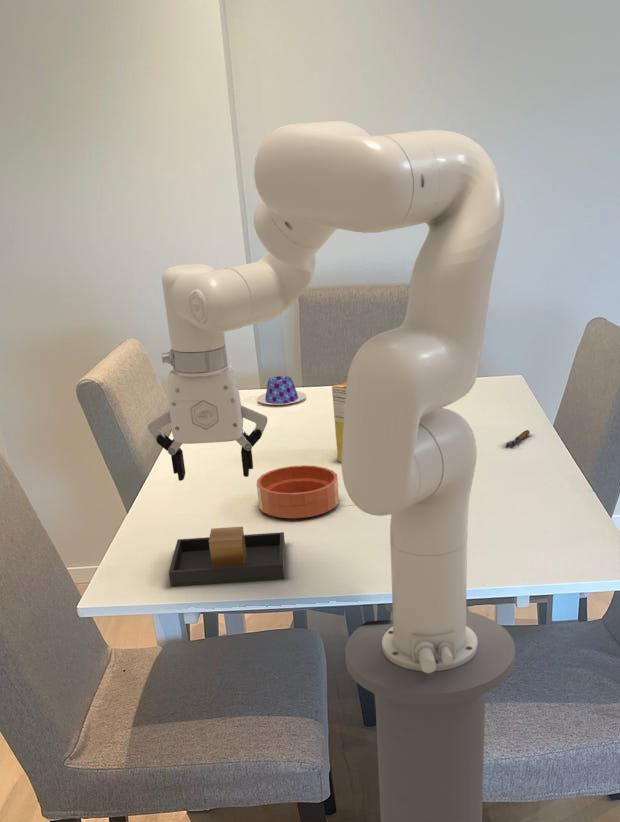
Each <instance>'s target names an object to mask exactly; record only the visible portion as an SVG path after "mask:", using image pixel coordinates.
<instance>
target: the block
mask: <svg viewBox="0 0 620 822" xmlns="http://www.w3.org/2000/svg"><path fill="white" fill-rule="evenodd" d="M244 535H245V531H244V526H229V527H227V526H226V527H214V528H213V527H212V528H210V532H209V537H210V538H209V547H210V555H211V562H212V568H217V567H232V566H245V564H246V547H245V539H244Z"/></svg>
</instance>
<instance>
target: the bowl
mask: <svg viewBox="0 0 620 822" xmlns="http://www.w3.org/2000/svg"><path fill="white" fill-rule="evenodd" d="M338 480H339V479H338V474H337V473H336V471H334V470H332V469H330V468H328V467H324V466H318V465H307V464H306V465H305V464H304V465H303V464H302V465H289V466H284V467H279V468H275V469H273V470H269V471H267V472H265V473H263V474H262V475H260V476H259V477H258V478H257V479H256V490H257V500H258V507H259V509H260V510H261V512H262V513H264V514H266V515H268V516H272V517H277V518H280V519H281V518H282V519H283V518H284V519H305V518H310V517H311V518H312V517H315V516H320V515H322V514H326V513H327V512H330V511H331V510H333V509H335V508H336V507H337V505H338V504H339V503H340V497H339V481H338Z"/></svg>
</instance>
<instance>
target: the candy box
mask: <svg viewBox="0 0 620 822" xmlns="http://www.w3.org/2000/svg"><path fill="white" fill-rule="evenodd" d="M346 388H347V380H344V381H342V382H340V383H337V384H335V385H332V386H331V391H332V403H333V404H332V405H333V418H334V429H335V441H336V442H335V443H336V452H337V454H336V455H337V462H339V463H341V458H342V441H343V428H344V414H345V400H346Z"/></svg>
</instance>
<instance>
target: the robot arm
mask: <svg viewBox="0 0 620 822" xmlns="http://www.w3.org/2000/svg"><path fill="white" fill-rule="evenodd" d="M253 167H254V168H253V169H254V170H253V172H254V173H253V177H254V184H255V188H256V191H257V193H258V195H259V197H260V199H261V200H260V201H259V202H258V204H257V205H256V207H255V209H254V213H253V227H254V230H255V233H256V235H257V238H258V239H259V242H260V243H261V244H262V246H263V247H264V248H265V250H266V252H265V253H264V254H263V256H262V257H260V259H258V260H257V261H255V262H250V263H243V264H239V265H234V266H229V267H225V268H222V269H216V270H215V268H214V267H213V266H211V265H208V264H202V263H188V264H179V265H178V264H177V265H174V266H171V267H169V268H167V269H166V270H164V272H163V274H162V277H161V285H162V291H163V297H164V306H165V314H166V321H167V328H168V335H169V341H170V342H169V343H170V348H171V349H170V350H169V351H167V352H163V353H161V361H162V364H169V365H170V366H171V367H172V369H171V370H170V371H169V372H168V381H167V383H168V387H167V388H168V407H169V408H168V409H169V410H168V411H166V412H165V413H163V414H162V415H160V416H158V417H157V418H155V419H153V420H152V421H150V422H149V423H148V425H147V430H148V431H149V433H150V434H151V436H152V437H153V439H155V441H156V443H157V444H158V446H160V447H161V448H162V449H164V450H165V451H166V452H167V453H168V455H170V457H171V464H172V471H173V474H175V475H177V479H178V481H179V482H180V481H181V482H182V481H183V480H185V476H186V467H185V459H184V452H183V449H182V448H181V446H182V445H192V444H193V445H194V444H210V443H211V444H213V443H226V442H229V443H230V442H234V441H235V442H237V444H239V445H240V446H241V450H240V454H241V466H242V473H243V477H245V478H249V475H250V470H254V461H253V451H252V449H253V447H254V446H255V445H256V444H257V443H258V442H259V440H261V438H262V437H263V433H264V431H265V429H266V426H267V425H268V419H269V418H268V417H267V416H266V415H265V414H262V413H260V412H258V411H255V410H253V409H251V408H248V407H246V406H243V405H242V402H241V396H240V391H239V386H238V382H237V378H236V374H235V371H234V368H233V366H232V365H230V364H228V356H227V347H226V337H225V333H227V332H231V331H235V330H239V329H242V328H244V327H248V326H251V325H256V324H261V323H264V322H265V323H266V322H268V321H271V320H274V319H275V318H278V317H279V316H281V315H282V314H283V313H285V312H286V311H287V310H288V309H289V308H291V306H292V305H293V304H294V303H296V301H297V300H298V299H299V298H300V297H301V295H303V294H304V293H305V291H306V290H307V289H308V287H309V286H310V284H311V282H312V281H313V277H314V273H315V269H316V261H317V258H316V257H317V256H316V253H318V252H319V250H320V249H321V248H322V247H323V246H324V245H325V243H326V242H327V241H328V240H329V239H330V238H331V237H332V235H334V233H335V232H336V231H337V229H338V230H344V231H347V232H354V233H362V234H363V233H364V234H369V233H370V234H373V233H374V234H376V233H384V232H390V231H393V230H399V229H403V228H408V227H413V226H418V225H422V224H426V225H427V227H428V232H427V235H426V238H425V240H424V242H423V243H422V246H421V247H420V249H419V252H418V254H417V257H416V259H415V262H414V264H413V266H412V267H413V268H412V270H411V276H410V281H409V282H410V283H409V293H408V294H409V295H408V302H407V309H406V313H405V317H404V320H403V322H402V324H401V325H400V326H398V327H396V328H393V329H389V330H385V331H383V332H380V333H378V334H376V335H373V336H372V337H370V338H369V339H368V340H366V341H365V342H364V343H363V344H362V345H361V346H360V347H359V349H358V350H357V351H356V353H355V355H354V357H353V359H352V361H351V363H350V367H349V370H348V374H347V380H346V381H347V388H346V400H345V414H344V428H343V441H342V458H341V462H340V464H341V475H342V481H343V485H344V487H345V488H344V489H345V490H346V493H347V495H348V497H349V498H350V500H351V502H352V503H353V504H354V505H355V506H356V507H357V508H358V509H359V510H360V511H362V512H363V513H364V514H365V513H366V514H367V515H371V516H375V517H383V516H389V515H390V523H389V537H390V538H389V539H390V540H389V541H390V544H389V545H390V573H391V574H390V575H391V603H392V608H391V609H392V612H393V627H392V628H390V629H389V630H388V631H387V632H386V633H385V634H384V636H383V638H382V651H383V653H384V655H385V656H386V658H387V659H389V660H390V661H391V662H392V663H394V664H396V665H398V666H400V667H403V668H406V669H410V670H414V671H423V672H425V673H431V672H435V671H444V670H449V669H453V668H456V667H459V666H461V665H463V664H465V663H467V662H468V661H469V660H471V659H472V658H473V656H474V655H475V654H476V652H477V646H478V640H477V636H476V635H475V633H474V632H473V631H472V630H471V629H470V628H469V627H467V626H466V611H467V589H468V588H467V584H468V583H467V582H468V581H467V579H468V577H467V576H468V575H467V574H468V533H469V532H468V530H469V529H468V528H469V510H470V509H469V508H470V499H471V492H472V487H473V481H474V476H475V472H476V466H477V457H478V456H477V455H478V454H477V452H478V451H477V442H476V436H475V434H474V431H473V429H472V427H471V425H470V424H469V422H468V421H467V420H466V419H465V418H464V417H463V416H462V415H461V414H459V413H458V412H456V411H454V410H452V409H449V408H445V407H447V406H449V405H452V404H454V403H456V402H457V401H459V400H461V399H463V398H464V397H465V396H467V395H468V394H469V393H470V392H471V390H472V389H473V387H474V385H475V383H476V380H477V376H478V372H479V368H480V367H479V366H480V360H481V354H482V349H483V348H482V347H483V342H484V334H485V328H486V323H487V316H488V309H489V302H490V293H491V286H492V280H493V275H494V270H495V265H496V261H497V257H498V251H499V248H500V244H501V238H502V232H503V226H504V219H505V217H504V216H505V196H504V190H503V185H502V181H501V178H500V174H499V172H498V170H497V168H496V165H495V164H494V162H493V160H492V159H491V156H490V155H489V154H488V153H487V151H486V150H485V149H484V148H483V147H482V146H481V145H479V143H478V142H476V141H474V140H473V139H472V138H470V137H468V136H466V135H464V134H461V133H459V132H457V131H453V130H452V131H451V130H444V129H423V130H413V131H406V132H399V133H397V132H396V133H388V134H376V135H370V134H369V133H368V132H367V131H366V130H364V129H363V128H362V127H360V126H359V125H356V124H355V123H352V122H349V121H343V120H326V121H325V120H323V121H314V122H301V123H290V124H286V125H283V126H280V127H277V128H276V129H274V130H273V131H271V132H270V133H269V134H268V135H267V136H266V137H265V139H263V141H262V142H261V144H260V147H259V148H258V150H257V153H256V157H255V160H254V166H253ZM244 419H245V420H248V421H251V422H252V423H255V427H254V429H253V430H252V432H250V434H248V433H247V432H246V431H245V430H244ZM168 424H170V428H171V434H172V438H173V439H171V438H170V437H169V436H168V435H166V434H165V433H164V432H163V430H162V428H163V427H164V426H166V425H168Z"/></svg>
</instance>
